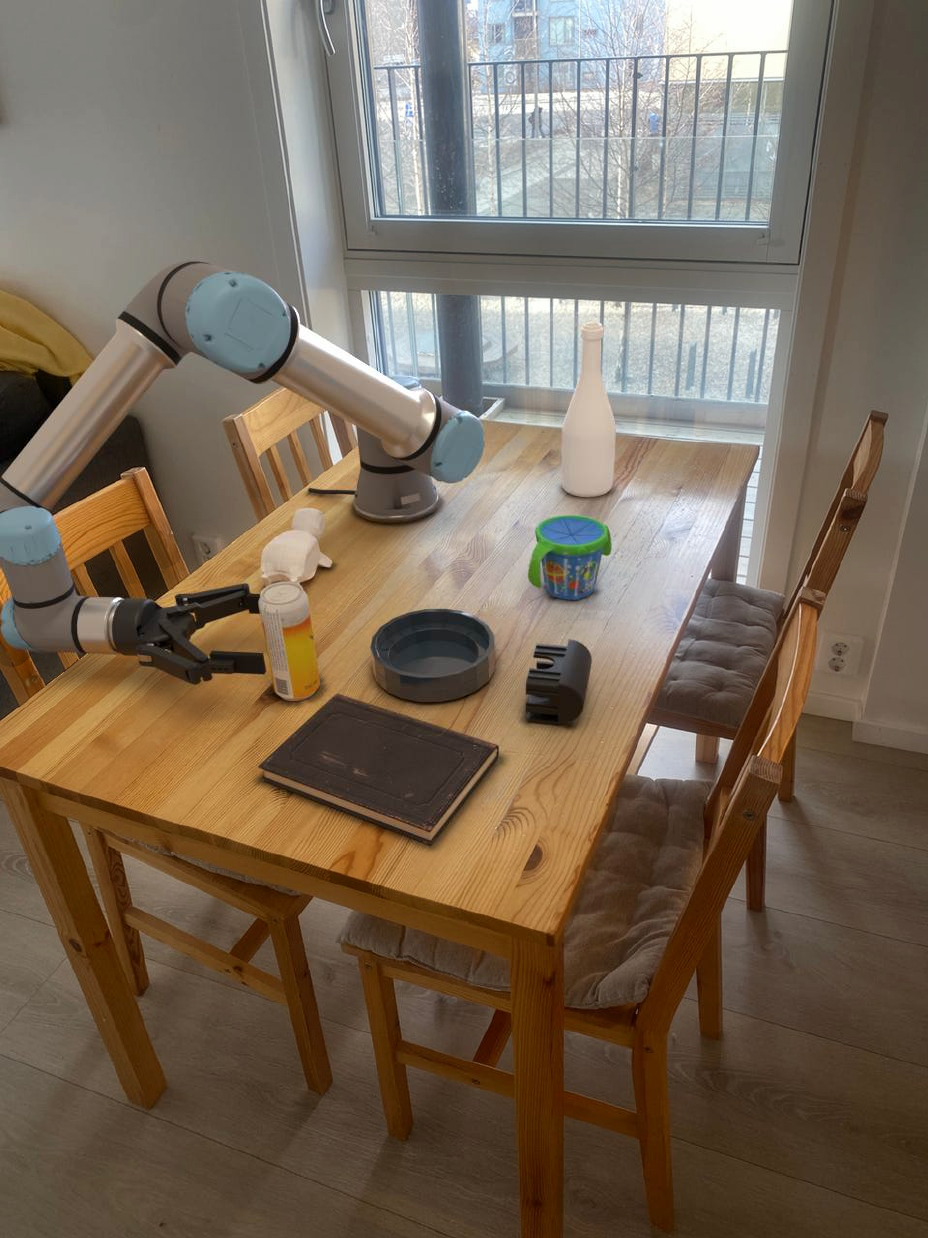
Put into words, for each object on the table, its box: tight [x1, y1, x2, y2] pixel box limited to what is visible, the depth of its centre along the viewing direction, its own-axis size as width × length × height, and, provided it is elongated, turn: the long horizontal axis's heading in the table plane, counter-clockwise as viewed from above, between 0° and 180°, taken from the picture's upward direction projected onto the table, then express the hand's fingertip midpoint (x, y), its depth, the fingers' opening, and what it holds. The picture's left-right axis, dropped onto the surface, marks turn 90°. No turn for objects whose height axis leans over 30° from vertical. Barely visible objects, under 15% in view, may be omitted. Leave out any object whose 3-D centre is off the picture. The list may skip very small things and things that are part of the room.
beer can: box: [258, 582, 321, 702], centre depth 121 cm, size 6×6×15 cm
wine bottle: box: [560, 321, 617, 498], centre depth 167 cm, size 10×10×30 cm
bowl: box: [370, 608, 496, 703], centre depth 127 cm, size 16×16×4 cm
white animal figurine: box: [260, 507, 333, 587], centre depth 151 cm, size 9×8×15 cm
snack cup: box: [527, 514, 613, 601], centre depth 141 cm, size 16×10×10 cm
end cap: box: [525, 638, 593, 726], centre depth 118 cm, size 10×7×7 cm
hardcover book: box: [257, 693, 500, 846], centre depth 110 cm, size 16×23×2 cm
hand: (280, 633), depth 120 cm, fingers open, 13 cm apart
